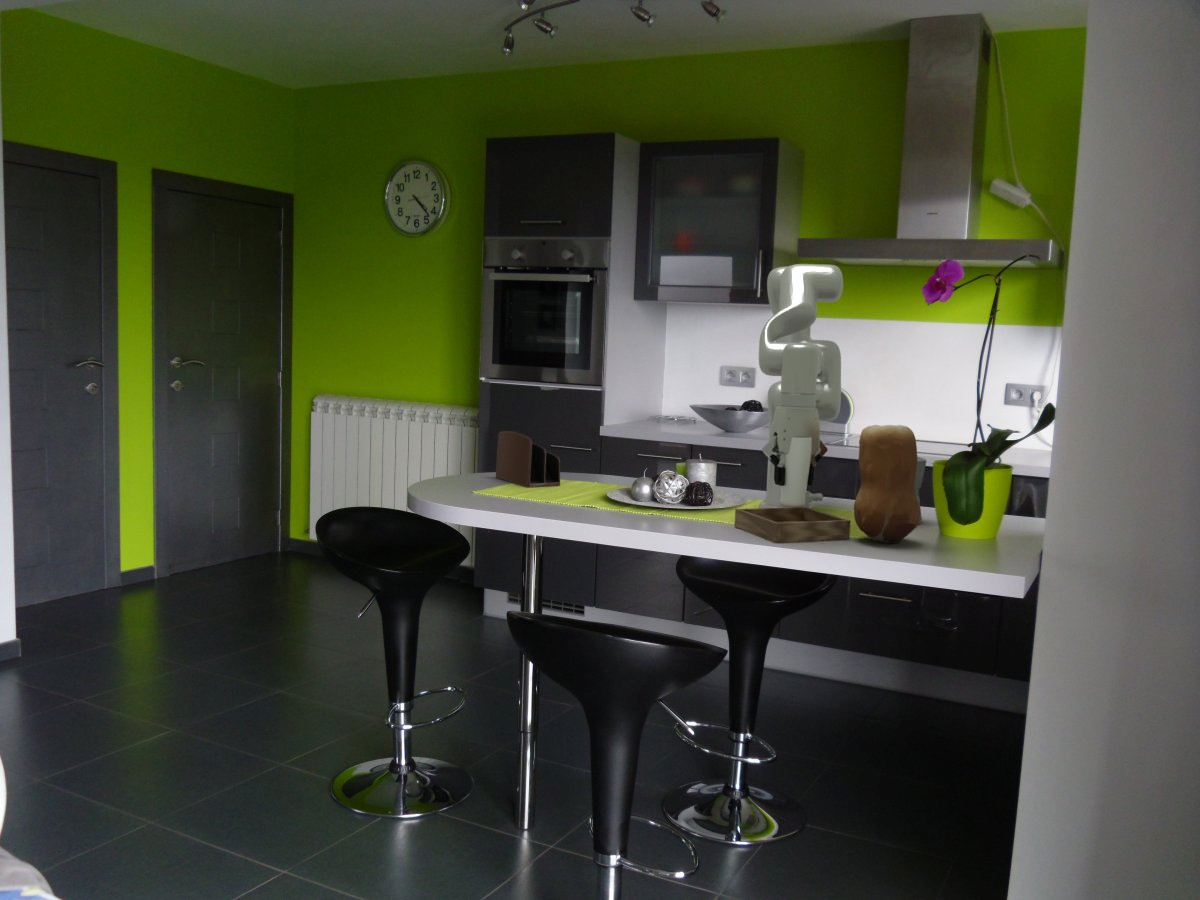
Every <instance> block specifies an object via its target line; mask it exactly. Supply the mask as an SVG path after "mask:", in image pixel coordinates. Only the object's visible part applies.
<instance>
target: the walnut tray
mask: <svg viewBox="0 0 1200 900" xmlns="http://www.w3.org/2000/svg"><path fill="white" fill-rule="evenodd" d="M851 523H852V522H851V519H850V520H849V519H845V518H843V517H840V516H836V515H833V514H830V513H827V512H823V511H820V510H818V509H815V508H812V507H811V508H808V507H781V508H760V507H757V508H756V507H754V508H735V512H734V528H736V527H738V528H737V529H739V528H741V529H743V530H742V531H744V530H745V532H747V531H748V532H747V533H749V534H752V535H754V536H757V537H759V538H762V539H765V540H768V541H770V542H773V543H775V544H776V543H777V544H778V543H799V542H798V541H803V542H818V541H819V542H821V540H824V541H840V540H841V541H842V540H843V541H844V540H846V541H847V540H850V538H851V536H850V535H851ZM741 529H740V530H741Z"/></svg>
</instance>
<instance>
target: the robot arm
mask: <svg viewBox="0 0 1200 900" xmlns="http://www.w3.org/2000/svg"><path fill="white" fill-rule="evenodd" d="M766 282H767V283H766V286H767V287H766V288H767V297H768V302H769V305H770V306H769V307H770V309H771V312H772V316H771V317H770V318H769V319H768V320H767V322H765V324H764V326H763V327H762V330H761V331H760V332H761V333H760V335H759V341H758V342H759V343H758V344H759V346H758V365H759V369H760V371H761V372H762V373H763V374H764V375H766V376H770V377H771V376H772V377H781V378H780V379H781V380H779V381H776V382H774V383H772V384H771V385H770V387H769V388H768V391H767V408H768V409H767V411H768V423H769V425H768V427H769V429H768V430H769V433H768V442H767V443H766V444H765V445H764V446H763V447H762V448H761V449H762V450H761V451H762V452H763V454H764V455H765V456H766V457H767V473H766V492H765V493H766V496H765V500H763V501H760V502H759V507H758V508H781V507H792V506H785V505H782V504H781V502H780V497H781V487H780V486H784V485H785V467H783V465H784V462H785V460H786V454H788V453H789V450H790V445H791V440H792V438H793V437H795V438H810V437H811V438H812V451H811V461H810V468H809V475H808V482H807V486H813V481H814V476H815V472H814V471H815V467H817V464H818V463H819V461H821V459H822V458H823V456H825V454H826V453H827V452H828V450H829V449H828V448H827V446H826V445H825V444H824V443H823V441H822V440H821V430H820V429H821V427H820V422H831V421H834V420H836V419H837V418H838V417H839V414H840V412H841V406H842V405H841V404H842V402H841V401H842V400H841V399H842V398H841V397H842V355H841V350H840V348H839V345H838V344H837V343H836V342H834V341H832V340H825V339H812V337H811V327H812V326H813V325H814V323H815V322H816V320H817V317H818V306H817V305H818V303H835V302H838V300H840V298H841V297H842V294H843V290H844V289H843V288H844V278H843V273H842V270H841V269H840V267H839V266H837V265H834V264H826V263H825V264H819V263H818V264H817V263H816V264H815V263H798V264H797V263H795V264H792V265H789V266H780V267H775V268H773V269H772V270H771V271H770V272H769V274H768V276H767V281H766ZM817 380H819V381H817ZM780 455H781V456H780ZM823 500H824V495H823V493H812V492H810V491H809V490H806V500H805V505H804V506H800V507H808V508H812V505H811V504H810V503H812V502H823Z"/></svg>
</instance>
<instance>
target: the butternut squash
mask: <svg viewBox="0 0 1200 900" xmlns="http://www.w3.org/2000/svg"><path fill="white" fill-rule="evenodd" d="M858 444H859V448H858V469H859V474H860V487H859V490H858V493H857V495H856V498H855V500H854V504H853V517H854V521H855V523H856V526H857V527H858V529H859V531H861V532H863V533H864V534H865V535H866V536H867V537H868V538H870V539H872V541H876V542H880V543H884V544H892V545H893V544H896V543H899V542H901V541H902V540H903V539H905V538H906V537H907V536H909V535H910V534H911V533H913V531H914V530H916V528H918V526H919V525H918V523H919V519H920V516H921V517H922V513H921V514H920V508H921V505H920V506H919V503H918V500H917V497H916V493H915V486H914V485H915V476H916V469H917V457H918V447H917V440H916V436H915V434H914V432H913V430H912V429H911V428H910V427H908V426H907V425H903V424H902V425H901V424H895V425H893V424H887V425H886V424H885V425H878V424H873V425H867V426H865V427H864V428H863V429H862V430H861V432H860V437H859V443H858Z"/></svg>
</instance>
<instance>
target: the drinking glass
mask: <svg viewBox="0 0 1200 900" xmlns="http://www.w3.org/2000/svg"><path fill="white" fill-rule="evenodd" d="M811 451H812V438H811V437H810V438H795V437H793V438H792V440H791V445H790V450H789V453H788V454H786V460H785V462H784V465H783V467H785V485H784V486H780V487H781V497H780V502H781V504H782V505H785V506H792V507H800V506H804V505H805V500H806V491H808V490H807V487H808V485H807V482H808V475H809V468H810V461H811ZM780 456H781V455H780Z"/></svg>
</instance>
